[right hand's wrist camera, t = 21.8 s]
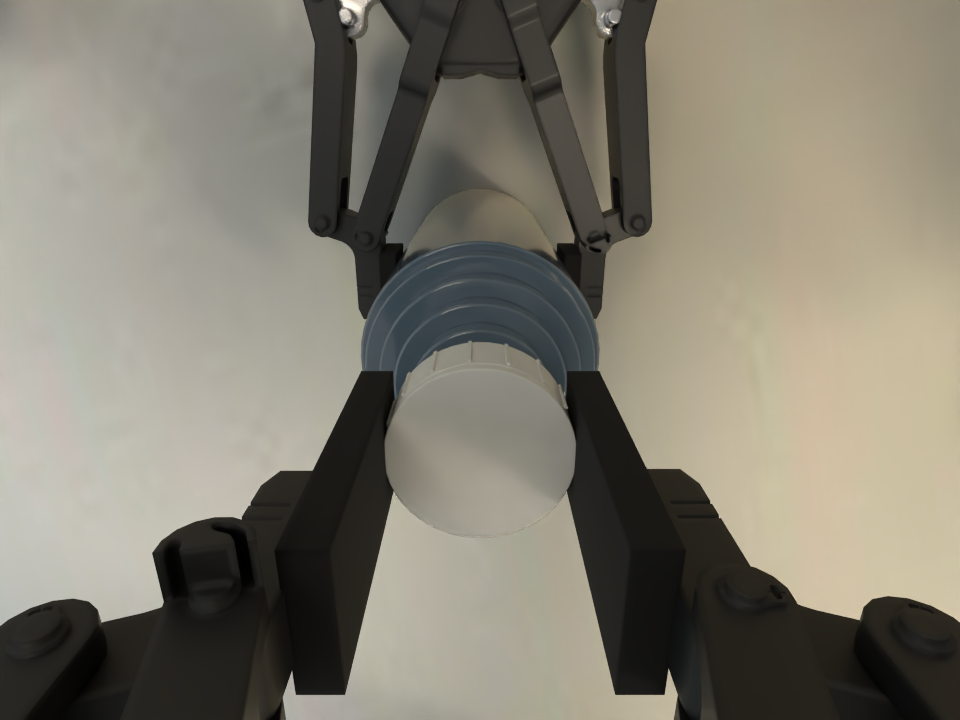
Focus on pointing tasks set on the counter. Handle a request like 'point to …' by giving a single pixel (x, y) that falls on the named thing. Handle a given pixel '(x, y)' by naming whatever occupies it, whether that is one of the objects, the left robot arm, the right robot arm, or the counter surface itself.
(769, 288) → the counter surface
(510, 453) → the cap
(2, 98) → the counter surface
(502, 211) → the bottle
